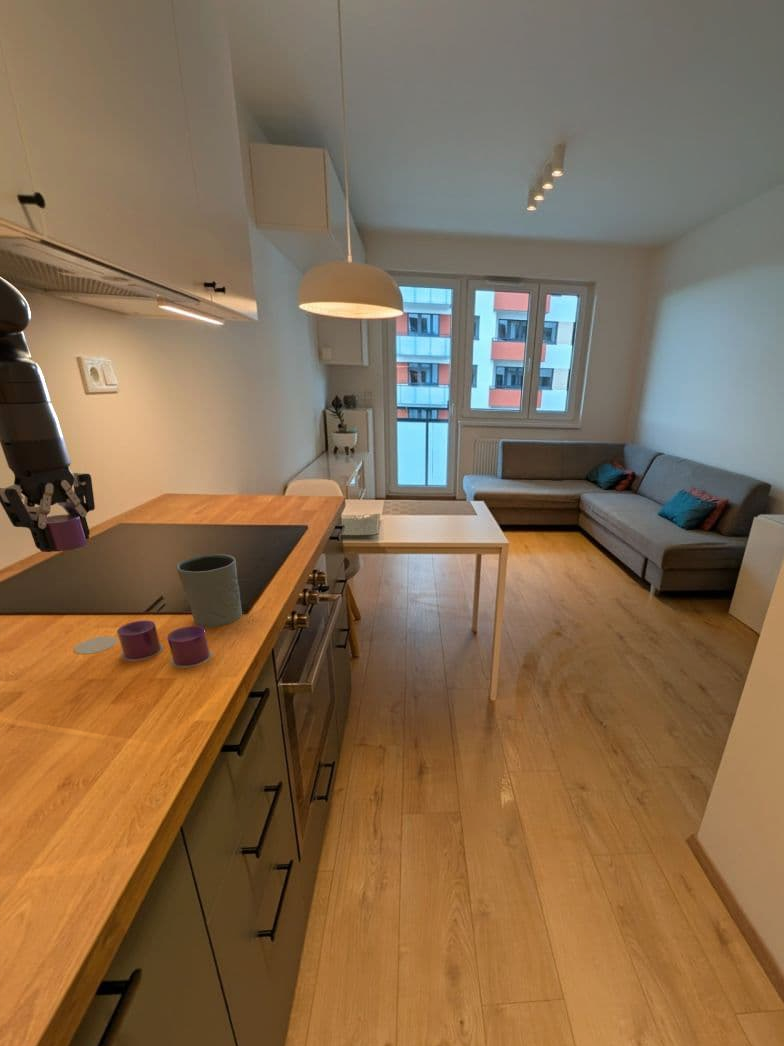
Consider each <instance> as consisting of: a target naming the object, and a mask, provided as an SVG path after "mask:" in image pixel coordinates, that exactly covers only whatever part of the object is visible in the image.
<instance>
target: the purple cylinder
mask: <svg viewBox="0 0 784 1046" xmlns="http://www.w3.org/2000/svg"><path fill="white" fill-rule="evenodd" d="M45 528H49V531H50V534H51V538H52V541H53V544H54V547H55V550H54V551H52V552H66V551H72V550H77V549H80V548H82V547H85V546H87V544H88V542H87V540H86V538H85V534H84V531H83V528H82V524H81V521H80V517H79V516H78V515H71V514H68V513H67V514H55V515H49V516H47V522H46V527H45Z"/></svg>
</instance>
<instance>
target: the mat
mask: <svg viewBox="0 0 784 1046" xmlns="http://www.w3.org/2000/svg"><path fill="white" fill-rule="evenodd" d="M118 640H119V639H118V638H116V637H115V636H109V635H105V636H97V637H92V638H89V639H85V640H84V641H81V642H80V643H78V644H77V645H75V647H73V651H74V653H76V654H78V655H92V654H97V653H100V652H104V651H106V650H110V649H111V648H113V647H114V646H115V645H117V643H118ZM160 645H161V649H160V650H159V651H158V652H157V653H155V654H153V655H151V656H149V657H145V658H140V659H128V658H126V657H124V654H123V651H122V652H121V654H120V657H121V659H122V660H124V661H127V662H128V661H129V662H136V661H137V662H138V661H143V660H147V659H150V658H153V657H155V656H157V655H159V654H160V653H162V651H163V650H164V644H163V643H161V642H160ZM209 652H210V655H209V657H208V658H207V659H206V660H204V661H202V662H200V663H197V664H194V665H189V666H180V665H176V664H175V663H174V662H173V659H172V657H171V658H170V659H169V664H170V666H172V667H175V668H179V669H181V668H182V669H184V668H185V669H187V668H192V667H196V666H200V665H201V664H204V663H205V662H207V661H209V660H210V659H211V658H212V655H213V652H212V651H211V650H210V649H209Z"/></svg>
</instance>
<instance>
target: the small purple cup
mask: <svg viewBox="0 0 784 1046" xmlns="http://www.w3.org/2000/svg"><path fill="white" fill-rule="evenodd" d="M116 633H117V637H118V640H119V644H120V648H121V651H122V652H123V654H124V657H126V658H128V659H140V658H145V657H149V656H151V655H153V654H155V653H157V652H158V651H159V650H160V649H161V645H160V643H161V642H160V637H159V633H158V629H157V626H156V623H155V622H154V621H153V620H146V619H145V620H137V621H136V620H135V621H132V622H129V623H126V624H124V625H122V626H120V627H119V628H118V629H117V630H116Z"/></svg>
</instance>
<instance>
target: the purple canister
mask: <svg viewBox="0 0 784 1046" xmlns="http://www.w3.org/2000/svg"><path fill="white" fill-rule="evenodd" d="M166 638H167V643H168V646H169V649H170V650H169V651H170V655H171V658H172V659H173V662H174V663H175V664H176V665H180V666H189V665H194V664H197V663H200V662H202V661H204V660H206V659H207V658H208V657H209V655H210V652H209V650H210V648H209V644H208V643H209V642H208V638H207V634H206V629H205V627H203V626H199V625H190V626H182V627H180V628H177V629H174V630H172V631H171V632H169V633H168V635H167V637H166Z"/></svg>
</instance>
